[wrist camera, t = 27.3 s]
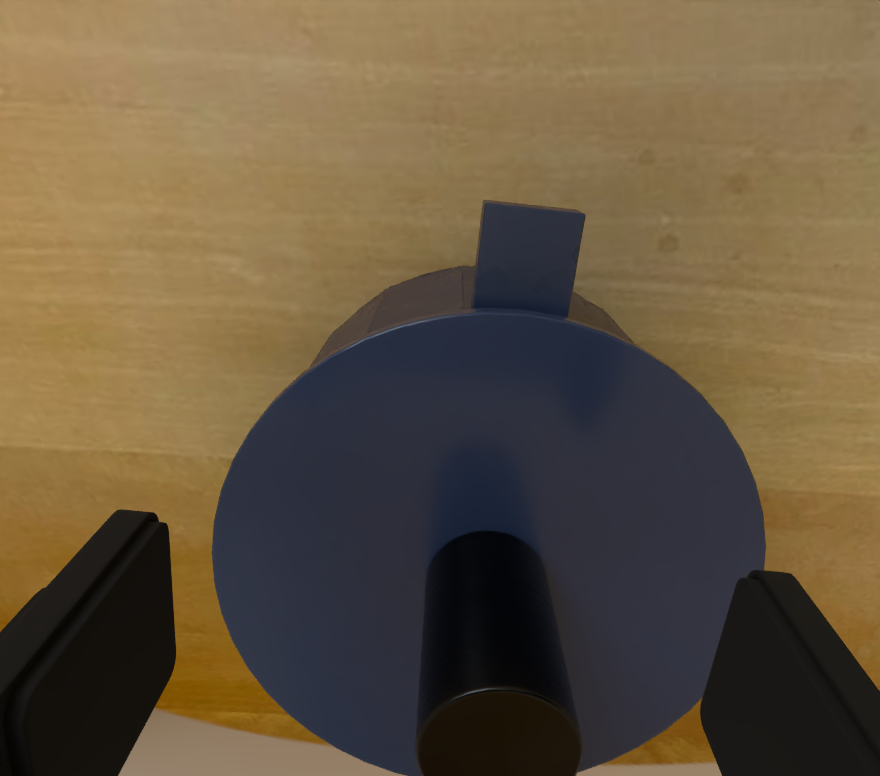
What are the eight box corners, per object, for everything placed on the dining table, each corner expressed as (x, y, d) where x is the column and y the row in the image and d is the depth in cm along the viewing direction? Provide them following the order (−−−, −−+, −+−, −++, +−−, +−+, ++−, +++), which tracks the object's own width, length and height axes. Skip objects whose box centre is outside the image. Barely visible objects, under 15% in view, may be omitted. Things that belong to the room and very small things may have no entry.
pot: (705, 210, 24) (835, 243, 16) (604, 654, 30) (659, 840, 22) (311, 167, 23) (237, 178, 15) (294, 623, 30) (234, 801, 22)
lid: (815, 334, 17) (1027, 445, 11) (683, 776, 22) (775, 1029, 16) (223, 271, 17) (86, 347, 10) (224, 732, 21) (131, 971, 15)
